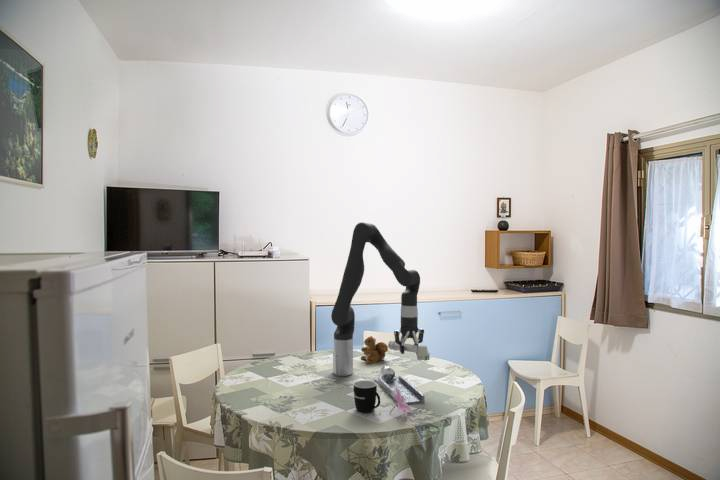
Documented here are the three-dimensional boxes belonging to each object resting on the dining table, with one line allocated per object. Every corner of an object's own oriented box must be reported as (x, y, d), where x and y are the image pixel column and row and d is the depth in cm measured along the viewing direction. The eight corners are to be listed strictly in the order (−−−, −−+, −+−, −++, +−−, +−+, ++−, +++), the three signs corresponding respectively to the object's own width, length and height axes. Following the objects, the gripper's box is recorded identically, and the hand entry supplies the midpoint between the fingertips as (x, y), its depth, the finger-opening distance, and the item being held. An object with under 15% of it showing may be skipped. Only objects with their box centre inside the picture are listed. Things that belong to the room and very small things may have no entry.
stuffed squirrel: (359, 359, 245) (359, 335, 245) (384, 357, 249) (384, 333, 248) (364, 364, 236) (364, 339, 235) (389, 362, 239) (389, 337, 239)
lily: (394, 426, 162) (407, 404, 161) (373, 405, 170) (385, 384, 169) (411, 426, 171) (424, 405, 170) (391, 406, 179) (403, 385, 178)
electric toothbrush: (395, 339, 212) (431, 343, 191) (396, 353, 212) (433, 359, 191) (386, 341, 209) (422, 345, 189) (387, 355, 209) (423, 361, 188)
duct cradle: (424, 402, 182) (424, 386, 182) (399, 405, 179) (399, 389, 179) (396, 377, 213) (396, 364, 213) (374, 380, 210) (374, 366, 210)
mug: (348, 410, 174) (348, 384, 174) (364, 403, 181) (364, 378, 181) (371, 418, 166) (371, 391, 166) (387, 411, 173) (387, 385, 172)
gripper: (420, 312, 205) (420, 349, 206) (390, 314, 201) (390, 352, 201) (427, 315, 198) (427, 353, 198) (397, 317, 194) (397, 356, 194)
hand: (409, 352), depth 200 cm, fingers closed on electric toothbrush, 5 cm apart
